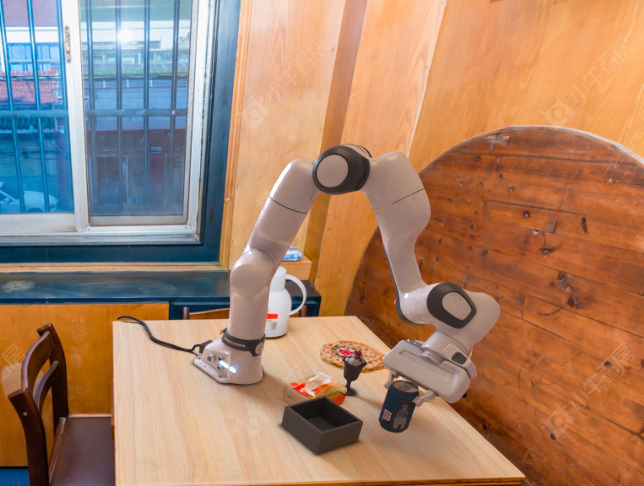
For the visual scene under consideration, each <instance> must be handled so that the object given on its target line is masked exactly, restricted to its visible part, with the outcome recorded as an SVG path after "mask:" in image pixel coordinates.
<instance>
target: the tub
mask: <svg viewBox="0 0 644 486" xmlns="http://www.w3.org/2000/svg"><path fill="white" fill-rule="evenodd" d="M363 425H364V421H363V420H362V419H360V418H359V417H358V416H356V415H355V414H353V413H352V412H350V411H349V410H347V409H346V408H344V407H343V406H341V405H340V404H338V403H337V402H335V401H334V400H333V399H330V398H329V397H328V396H326V395H322V396H318V397H315V398H311V399H307V400H303V401H298V402H296V403H292V404H287V405H285V406H284V409H283V414H282V419H281V423H280V426H281V427H282V428H283V429H284V430H285V431H287V432H288V433H289V434H291V436H293V437H294V438H295V439H297V440H298V441H299V442H300V443H302V444H303V445H304V446H305V447H307V448H308V449H309V450H310V451H311V452H313V453H314V454H316V455H320V454H322V453H327V452H329V451H333V450H336V449H338V448H342V447H344V446H345V447H346V446H348V445H351V444H354V443H357V442H358V441H359V437H360V434H361V431H362V428H363Z"/></svg>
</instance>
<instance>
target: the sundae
mask: <svg viewBox="0 0 644 486" xmlns="http://www.w3.org/2000/svg"><path fill="white" fill-rule="evenodd" d="M341 360H342V362H343V374H342V375H343V379H344V380H345V381H346V383H345V386H344V387H346V388H347V392H346V394H345V395H344V396H354V395H356V390H355V389H353V388H351V385H352V382H355V381H357V380H358V379H359V377H360V375H361V372H362V370H363V369H364V368H365V367H366V366H368V363H367V361H366V360H365V358H364V355H363V354H362V348H360V349H359V350H358V351H357V350H354V351H353V352H352V353H351V354H350V355H346V356H344V357H342V359H341Z"/></svg>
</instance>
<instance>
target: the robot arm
mask: <svg viewBox="0 0 644 486" xmlns="http://www.w3.org/2000/svg"><path fill="white" fill-rule="evenodd" d="M354 192H362V193H363V194H364V195H365V196H366V198H367V199H368V202H369V204H370V207H371V209H372V212H373V214H374V217H375V219H376V222H377V225H378V228H379V231H380V235H381V240H382V247H383V253H384V255H385V259H386V263H387V265H388V269H389V272H390V276H391V279H392V283H393V286H394V289H395V311H396V315H397V317H398V318H399V320H401V321H402V322H403V323H404V324H406V325H409V326H412V327H419V326H420V327H421V326H425V325H432V326H433V327H434V328H435V331H433V333H432V334H431V335H430V336H429V337H428V338H427V339H426V341H424V342H425V343H424V344H423V345H422V344H420V343H417V342H415V341H416V340H414V339H412V338H408V339H402V340H400V341H399V342H398V343H397V344H396V345H395V346H394V347H393V348H391V349H390V350H389V351H388V352H387V353H386V354H385V355H384V356H383V357H382V358H381V364H382V366H383V367H384V369H386V370H388V371H389V373H388V378H387V381H386V382H385V383H384V384H383V388H384V389H386V390H388V388H389V387H390V386H391V385H392V384H393V382H394V381H395V379H396V380H397V379H398V378H400V376H401V377H402V378H404V379H406V380H408V381H410V382H412V383H414V384H415V385H417V386H419V387H418V388H421V389H423V390H424V391H426V394H425V395H424V394H423V395H422V396H419V397H418V396H416V397H415V399H413V401H412V403H413V404H414V405H416V407H417V408H420V407H421V406H422V405H423V404H424V403H427V402H430V401H432V400H435V398H437V397H438V398H439V399H442V400H444V401H445V402H447V403H449V404H454V403H457V402H459V400H461V398H462V397H463V396H464V395H465V394H466V393H467V391H468V390H469V389H470V386H471V381H472V380H474V379H476V378H477V376H478V372H477V369H476V366H475V365H474V363H473V360H471V359H470V358H469V357H468V355H469V353H470V351H471V349H472V348H473V347H474V346H475V345H476V344H479V343H480V342H481V341H482V340H483V339H484V338H485V337H486V336H487V335H488V334H489V332H490V331H491V330H492V329H493V328H494V327H495V325H496V323H497V322H498V320H499V319H500V316H501V307H500V304H499V303H498V301H497V300H496V299H495V298H494V297H492V295H490V294H488V293H485V292H482V291H481V292H480V291H476V292H475V291H470V290H467V289H464V288H463V287H461V286H460V285H459V284H457V283H454V282H450V281H445V282H443V281H441V282H436V283H431V284H427V283H426V282H425V281H424V280H423V277H422V274H421V270H420V267H419V264H418V260H417V257H416V256H417V255H416V253H415V246H416V242H417V240H418V238H419V237H420V236H421V234H422V233H423V231H424V230H425V229H426V228H427V226H428V225H429V223H430V220H431V216H432V210H431V203H430V199H429V197H428V193H427V191H426V189H425V187H424V183H423V182H422V180H421V178H420V175H419V174H418V171H417V169H416V168H415V167H414V164H413V163H412V162H411V160H410V159H409V158H408V156H407V155H406V154H405V153H404V152H402V151H389V152H385V153H383V154H381V155H379V156H376V157H373V156H372V153H371V152H370V151H369V150H368V149H367V148H366V147H364V146H363V145H359V144H356V143H355V144H354V143H342V144H339V145H333V146H331V147H328V148H327V149H325V150H324V151H322V152H321V153H320V154H319V155H318V157H317V158H316V160H312V159H310V158H306V157H299V158H298V157H297V158H294V159H292V160H291V161H289V162H288V164H287V165H286V166H285V168H284V169H283V170H282V172H281V173H280V175H279V176H278V178H277V180H276V181H275V182H274V185H273V186H272V188H271V191H270V192H269V195H268V196H267V198H266V200H265V202H264V205H263V207H262V208H261V211H260V213H259V215H258V216H257V219H256V222H255V223H254V226H253V229H252V232H251V234H250V236H249V239H248V241H247V243H246V245H245V247H244V250H243V251H242V253H241V255H240V256H239V258H238V259H237V260H236V261H235V262H234V264H233V266H232V268H231V270H230V274H229V313H228V322H227V327H224V328H223V329H221V330H219V335H222V336H221V337H220V338H217V339H215V340H211V339H209V340H206V341H204V342H201V343H195V344H193V346H192V347H191V348H186V347H185V348H184V347H182V346H179V345H176V344H173V343H171V342H166V341H164V340H160V339H158V338H156V337H155V336H154V335H153V334H152V332H151V330H150V328H149V326H148V325H147V324H146V322H145V321H143V320H141V319H139V318H137V317H134V316H131V315H127V314H125V315H119V316H118V317H116V320H118V321H119V320H122V319H129V320H132V321H134V322H137V323H140V324H141V325H143V327H144V329H145V331H146V333H147V335H148V336H149V337H150V339H151V340H152V341H154V342H155V343H158V344H161V345H164V346H167V347H170V348H174V349H176V350H179V351H184V352H187V353H191V352H194V351H195V349H196V348H198V354H199V355H198V356H197V357H196V358H195V359H194V360H193V364H194V365H195V366H196V367H197V368H199V369H200V370H202V371H203V372H204V373H206V374H207V375H209V376H210V377H211V378H212V379H214V380H216V381H217V382H218V383H220V384H236V385H237V384H238V385H251V384H256V383H258V382H260V381H262V380H263V377H264V374H263V363H262V362H263V360H262V359H263V352H264V347H265V342H266V327H267V321H268V315H269V302H270V301H269V299H270V291H271V284H272V281H273V279H274V276H275V275H276V273H277V271H278V270H279V267H280V265H281V264H282V262H283V260H284V258H285V256H286V255H287V252H288V251H289V249H290V247H291V245H292V243H293V241H295V240H294V239H296V236H297V234H298V232H299V230H300V228H301V227H302V224H303V223H304V221H305V219H306V217H307V215H308V213H309V212H310V209H311V208H312V206H313V204H314V202H315V201H316V199H317V198H318V197H319V196H320V195H321V194H322V193H323V194H325V195H328V196H340V195H346V194H350V193H354Z"/></svg>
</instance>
